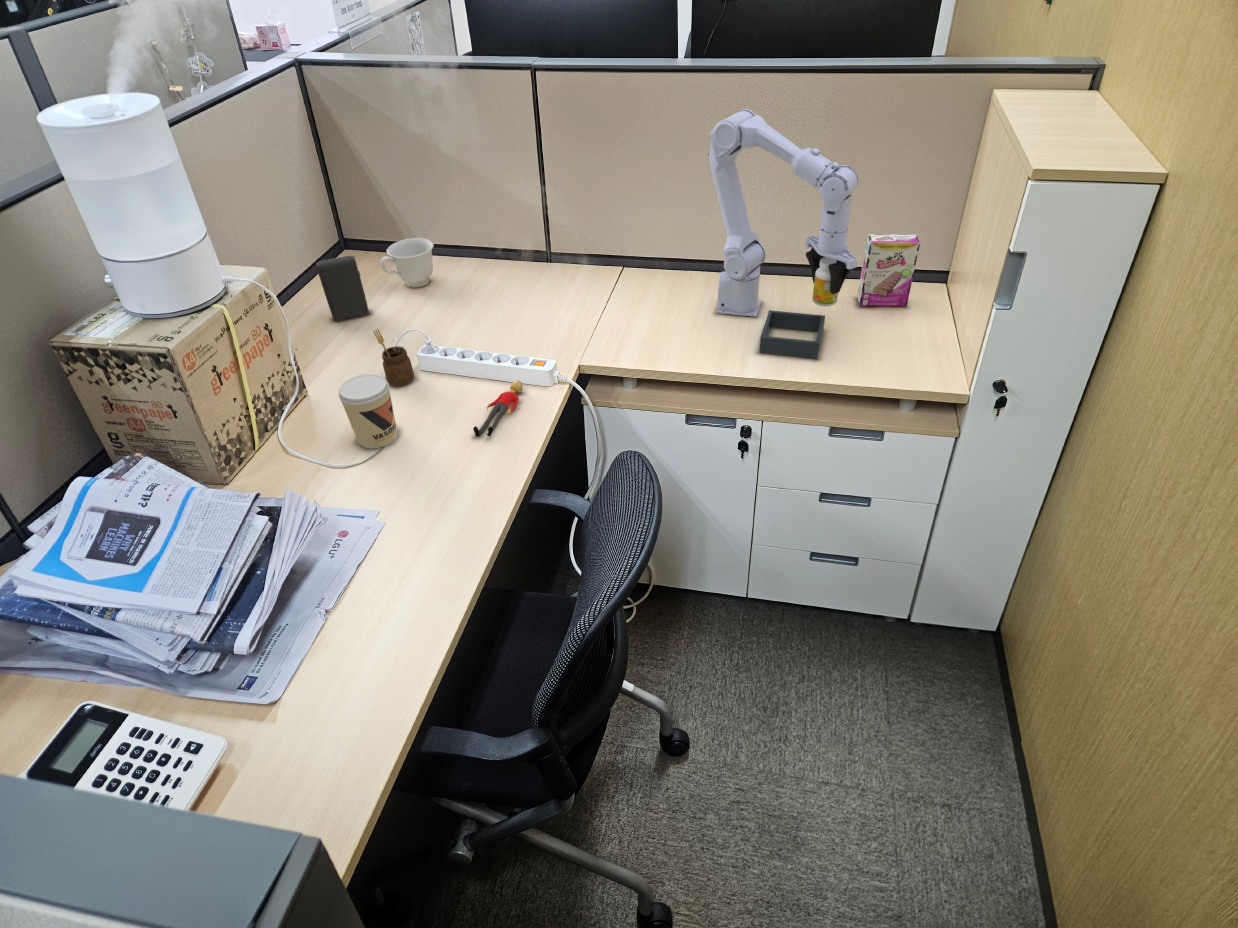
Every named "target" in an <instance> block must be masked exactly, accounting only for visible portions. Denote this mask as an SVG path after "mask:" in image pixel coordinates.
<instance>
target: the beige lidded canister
mask: <svg viewBox="0 0 1238 928" xmlns="http://www.w3.org/2000/svg"><path fill="white" fill-rule="evenodd" d="M338 398H339V400H340V402H341V404H342V407H343V409H344V411H345V414H346V416H347V419H348V421H349V423H350V426H351V429H352V431H353V433H354V435H355V438H356V440H357V442H358V444H359V445H360V446H361V447H363V448H365V449H380V448H383V447H386V446H388V445H390V444H391V443H393V442H394V441H395V440H396V439H397V436H398V428H397V423H396V417H395V411H394V406H393V402H392V397H391V392H390V384H389V383H388V381H387V379H386V377H383V376H382V375H379V374H376V373H364V374H359V375H355V376H352V377H350V378H348V379H346V380H345V381H344V382H343V383H341V385H340V386H339V390H338Z"/></svg>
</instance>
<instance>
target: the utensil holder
mask: <svg viewBox="0 0 1238 928" xmlns="http://www.w3.org/2000/svg"><path fill="white" fill-rule="evenodd" d="M373 334H374V336H375V339H376V340H377V343H378V344H379V345H381V346H382V347H383V352H382V353H381V358H382V367H383V372H384V376H385V380H386V381H387V382H388V384H389V386H393V387H403V386H406V385H408V384H410V383H412V382H413V381H414V380H415V379H414V378H415V374H414V373H415V372H414V369H413V364H412V361H411V359H410V357H409V356H408V352H407V350H406V348H405V347H404V346H401V345H395V343H394V341H392V342H391V343H392V346H391V347H388V348H387V347H386V345H385V339H384V337H383V335H382V333H381V331H380V329H379V328H378V327H376V328H375V329H374V330H373ZM393 339H397V342H399V339H400V342H401V344H402V345H404V344H405V342H404V341H403V339H401V337H400V336H394V337H393Z"/></svg>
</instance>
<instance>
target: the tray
mask: <svg viewBox="0 0 1238 928" xmlns="http://www.w3.org/2000/svg"><path fill="white" fill-rule="evenodd" d="M825 321H826V314H825V315H824V314H812V313H803V312H802V313H801V312H792V311H782V310H781V311H780V310H771V309H770V310H768V312H767V315H766V319H765V321H764V325H763V328H762V332H761V335H760V336H759V337H760V340H759V352H758V353H759V354H764V355H774V356H783V357H792V358H801V359H812V360H818V359H819V355H820V349H821V345H822V339H823V335H824V328H825ZM771 328H772V329H773V328H774V329H780V330H781V329H782V330H793V331H803V332H812V333H817V334H816V340H807V339H797V338H788V337H779V336H770V331H771Z"/></svg>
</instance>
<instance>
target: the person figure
mask: <svg viewBox="0 0 1238 928" xmlns="http://www.w3.org/2000/svg"><path fill="white" fill-rule="evenodd" d="M509 389H510V391H504V392H501V393H500V395H498V397H497V398H496V399H495V400H494V401H492V402H490V403H488V404H487V406H486V410H487V411H488V410H489V408H492V409H491V410H490V412H489V414H488V416H487V418H486V420H485V421H484V423H483V424H482V425H481V427H480V428H478V426H474V427H472V430H473V432H474V435H475V437H476V438H479V437H481V435H482V434H483V433H484V431H485V430H486V429H487V434H486V436H487V437H491V436H492V434H493V433H494V431H495V429H496V428H497V426H498V424H499V423H500V421H501V419H502V418H503V416H504V415H505V414H506V415H507V416H508V415H511V413H512V412H514V411H515V410H516V408H517V406H518V403H519V400H520V397H519V396H518V395H517V394H520V393H522V390H523V383H522V382H521V381H520V380H518V379H517V380H515V381H513V382H512V383H511V384H510V386H509ZM512 403H513V404H512ZM511 404H512V406H511V407H510V405H511ZM509 407H510V408H509ZM494 417H495V418H494ZM493 419H494V421H493V422H492V420H493ZM491 422H492V424H491ZM490 424H491V426H489V425H490Z"/></svg>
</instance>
